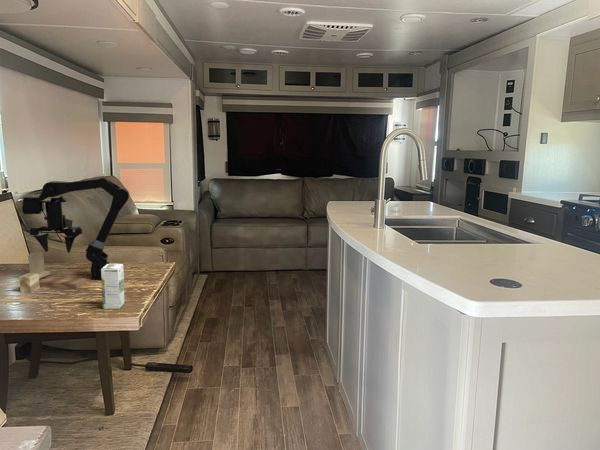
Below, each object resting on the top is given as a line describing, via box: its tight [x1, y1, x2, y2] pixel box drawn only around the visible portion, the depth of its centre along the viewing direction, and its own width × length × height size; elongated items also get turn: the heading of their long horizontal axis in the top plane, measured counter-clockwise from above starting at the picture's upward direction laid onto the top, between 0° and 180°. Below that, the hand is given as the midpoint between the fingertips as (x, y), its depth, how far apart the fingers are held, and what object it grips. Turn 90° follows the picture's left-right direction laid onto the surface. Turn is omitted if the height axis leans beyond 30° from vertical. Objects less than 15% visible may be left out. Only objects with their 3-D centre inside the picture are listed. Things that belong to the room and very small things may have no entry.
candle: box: [27, 250, 46, 274], centre depth 187 cm, size 6×6×10 cm
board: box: [39, 276, 87, 290], centre depth 176 cm, size 20×6×2 cm, turn 85°
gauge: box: [19, 270, 51, 294], centre depth 173 cm, size 4×14×6 cm, turn 175°
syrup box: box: [101, 263, 126, 310], centre depth 153 cm, size 6×6×14 cm
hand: (57, 252), depth 179 cm, fingers open, 9 cm apart
